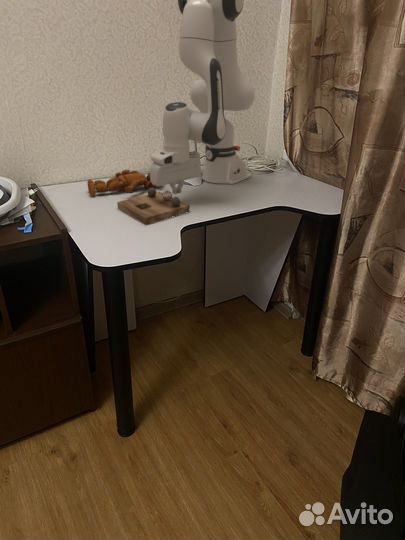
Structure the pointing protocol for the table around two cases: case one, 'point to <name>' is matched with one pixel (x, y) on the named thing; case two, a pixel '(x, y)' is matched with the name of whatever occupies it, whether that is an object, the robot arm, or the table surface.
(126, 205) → the wooden board with hole
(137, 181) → the toy
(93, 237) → the table surface
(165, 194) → the steel ball
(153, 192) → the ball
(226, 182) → the robot arm
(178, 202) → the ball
